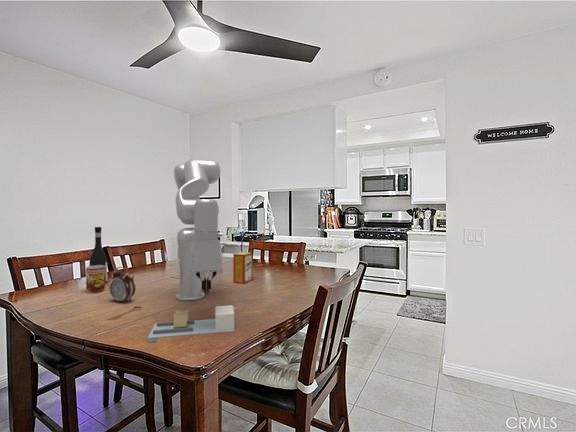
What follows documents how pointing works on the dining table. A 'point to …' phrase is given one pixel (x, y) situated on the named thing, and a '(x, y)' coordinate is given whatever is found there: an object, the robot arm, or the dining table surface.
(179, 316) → the block
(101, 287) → the canned food
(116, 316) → the key
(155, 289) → the dining table surface
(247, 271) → the baking soda box
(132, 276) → the alarm clock
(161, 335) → the plate
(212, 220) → the robot arm
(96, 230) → the wine bottle
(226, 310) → the white rectangular block
